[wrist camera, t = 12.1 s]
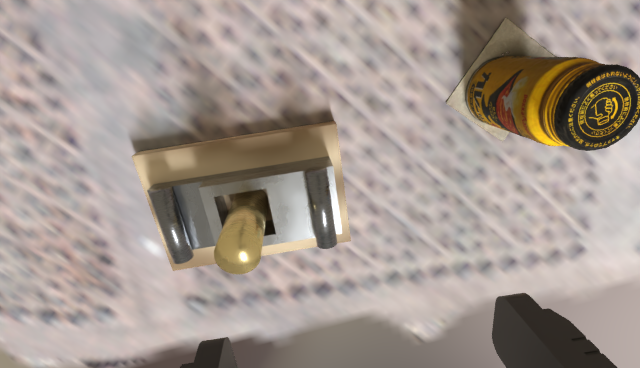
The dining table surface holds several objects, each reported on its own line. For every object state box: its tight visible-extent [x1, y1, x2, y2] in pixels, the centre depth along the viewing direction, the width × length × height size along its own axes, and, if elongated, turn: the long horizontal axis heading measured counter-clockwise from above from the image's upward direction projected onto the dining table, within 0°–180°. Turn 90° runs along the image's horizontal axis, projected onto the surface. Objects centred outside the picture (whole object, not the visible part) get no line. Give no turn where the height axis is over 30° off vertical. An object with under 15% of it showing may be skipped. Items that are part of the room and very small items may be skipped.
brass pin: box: [214, 189, 268, 274], centre depth 28 cm, size 3×3×9 cm
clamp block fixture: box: [132, 121, 351, 271], centre depth 30 cm, size 12×18×6 cm, turn 98°
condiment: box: [446, 18, 640, 151], centre depth 26 cm, size 7×8×12 cm
